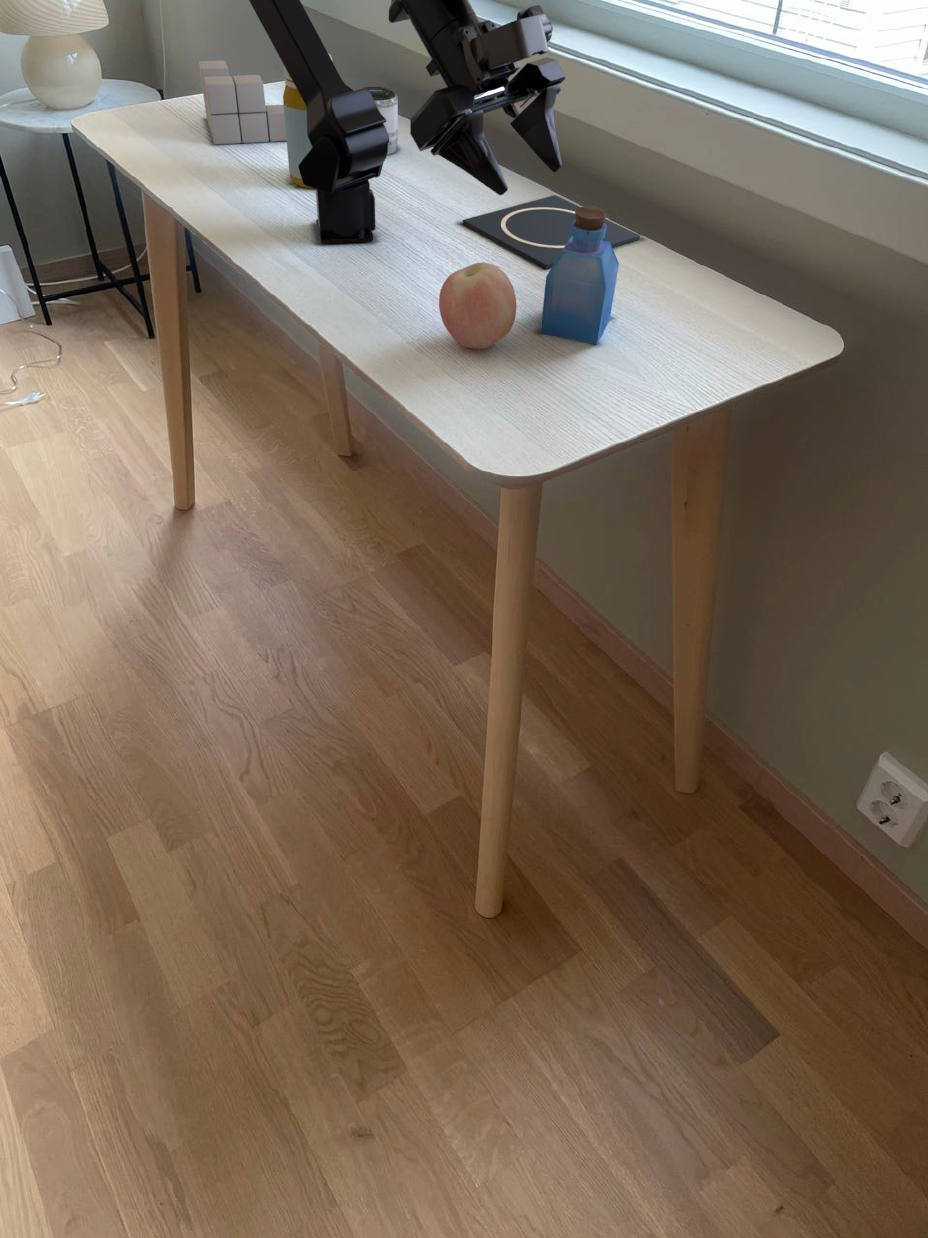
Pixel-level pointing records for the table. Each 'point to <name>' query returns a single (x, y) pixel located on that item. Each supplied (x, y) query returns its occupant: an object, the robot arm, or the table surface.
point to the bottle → (295, 128)
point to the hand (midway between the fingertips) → (532, 180)
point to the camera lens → (387, 113)
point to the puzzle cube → (239, 107)
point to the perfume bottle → (581, 281)
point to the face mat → (539, 229)
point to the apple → (478, 305)
